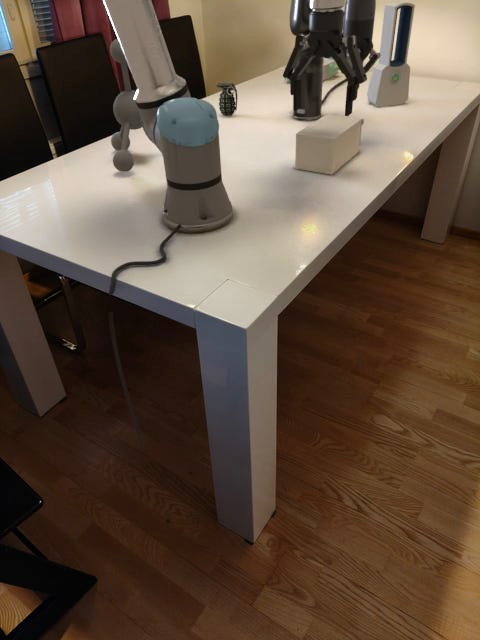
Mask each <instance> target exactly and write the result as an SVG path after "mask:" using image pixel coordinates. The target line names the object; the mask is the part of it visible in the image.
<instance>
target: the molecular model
mask: <svg viewBox="0 0 480 640" xmlns="http://www.w3.org/2000/svg"><path fill="white" fill-rule="evenodd" d="M109 52H110V55H111V57H112V59H113V60H114V61H115V62H117V63H119V64H120V67H121V72H122V80H123V84H124V85H123V86H124V89H125V90H123V91H121V92H120V93H119V94H118V95H117V96H116V97H115V99H114V100H113V101H114V102H113V104H112V105H113V106H112V107H113V108H112V110H113V114H114V117H115V119H116V121H117V122H118V124H119V125H120V131H117V132H115V133H113V134H112V136H111V139H110V144H111V146H112V148H113V149H114V150H115V151H116V152H115V153H114V154H113V157H112V164H113V166H114V168H115V170H117V171H119V172H122V173H126V172H129V171H131V170H132V169H133V168H134V165H135V159H134V156H133V154H132V153H131V152H129V151H128V149H129V148H130V146H131V139H130V131H132V130H133V131H135V130H140V129H143V127H142V122H141V115H140V113H139V110H138V108H137V105H136V103H135V100H134V96H135V94H136V91H137V90H133V89H132V86H131V81H130V75H129V69H128V68H129V67H128V63H127V60H126V58H125V55H124V53H123V50H122V48H121V45H120V42H119V40H118V38H115V39H114V40H113V41H112V42H111V44H110V47H109Z"/></svg>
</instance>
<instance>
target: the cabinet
mask: <svg viewBox="0 0 480 640" xmlns="http://www.w3.org/2000/svg"><path fill="white" fill-rule="evenodd" d="M361 120H362V118H357V117H349V116H341V115H340V116H339V115H332V114H325V115H323V116H321V117H320V118H318V119H316V120H315V121H313V122H312V123H310V124H309V125H308V126H306V127H304V128H303V129H301V130H300V131H298V132H296V133H295V157H294V158H295V162H294V163H295V164H294V169H297V170H302V171H308V172H313V173H319V174H324V175H331V176H332V175H334V174H335V173H336V172H337V171H338V170H339V169H340V168H342V167H343V166H344V165H345V164H346V163H348V162H349V161H350V160H351V159H353V157H355V156H356V155H357V154H358V153H359V149H360V146H359V140H360V141H361V139H360V130H361ZM361 131H362V130H361Z"/></svg>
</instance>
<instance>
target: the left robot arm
mask: <svg viewBox="0 0 480 640" xmlns="http://www.w3.org/2000/svg"><path fill="white" fill-rule="evenodd" d="M102 1H103V5H104V6H105V9H106V11H107V15H108V16H109V20H110V22H111V25H112V27H113V30H114V32H115V35H116V37H117V39H118V40H119V42H120V45H121V48H122V50H123V53H124V55H125V58H126V60H127V66H128V68H129V70H130V73H131V75H132V76H131V77H132V79H133V80H134V84H135V85H136V90H135V91H136V94H135V96H134V100H135V103H136V105H137V108H138V110H139V113H140V115H141V122H142V130H143V132H144V134H145V135H146V137H147V138H148V140H149V141H150V142H151V143H152V144H154V145H155V147H156V148H157V149H158V151H159V152H160V153H161V155H162V159H163V168H164V173H165V180H166V190H165V191H166V192H165V196H164V203H163V207H162V218H163V222H164V224H165V226H167V227H168V228H169V229H171V230H172V231H171V232H170V234H169V235H168V236H166V237H165V239H164V240H162V241H161V243H160V245H159V252H160V254H161V257H160V258H159V259H156V260H150V261H149V260H147V261H145V260H143V261H142V260H141V261H139V260H136V261H135V260H134V261H129V262H125V263H123V264H121V265H119V266H117V267H116V268H115V269H114V270H113V271H112V272H111V276H110V283H109V284H110V285H109V290H108V296H113V294H114V291H115V284H116V277H117V274H118V273H119V272H120V271H122V270H124V269H125V268H129V267H132V266H155V265H158V264H161V263H163V262H164V261H165V260H166V259H167V253H166V251H165V250H164V247H165V246H166V244H167V243H168V242H169V241H170V240H171V239H172V238H173V237H174V235H176V233H177V232H180V233H190V234H191V233H192V234H193V233H194V234H195V233H196V234H197V233H205V232H206V233H207V232H210V231H215V230H216V229H220V228H222V227H224V226H226V225H227V224H228V223H230V221H231V220H232V218H233V216H234V212H233V211H234V210H233V205H232V201H231V200H230V197H229V195H228V192H227V190H226V187H225V184H224V182H223V175H222V174H223V173H222V161H221V159H222V158H221V147H220V146H221V145H220V133H219V131H220V124H219V119H218V114H217V110H216V108H215V106H214V105H212V103H211V102H209V101H207V100H204V99H203V98H200V99H198V98H197V97H192V96H191V92H190V90H189V87H188V83H187V81H186V79H185V78H183V77H182V76H181V75H178V74H177V73H176V71H175V67H174V64H173V62H172V59H171V55H170V53H169V50H168V47H167V43H166V41H165V38H164V34H163V33H162V32H163V31H162V29H161V26H160V23H159V20H158V17H157V13H156V11H155V7H154V5H153V2H152V0H102ZM345 2H346V0H310V2H309V7H310V9H312V11H311V12H310V13H309V35H305V34H304V33H302V34H299V35H297V36H295V38H294V39H295V41H294V46H293V49H292V51H291V54H290V56H289V59H288V61H287V64H286V66H285V67H284V71H283V73H282V77H283V78H284V79H285V78H287V79H289V80H290V81H289V82H290V84H289V85H290V86H289V87H290V89H289V91H290V92H289V93H290V96H292V101H293V102H292V111H296V110H298V109H300V108H301V80H297V79H298V78H299V76H300V75H301V74H302V72H303V71H304V70H305V68H306V67H307V66H308V64H309V63H310V62H311V60H312V59H313V58H314V57H315V56H316V58H321V57H324V58H331V57H332V58H333V60H334V61H336V62H337V64H338V66H339V67H340V69H341V70H342V72H343V74H342V75H344V77H345V79H346V78H347V83H348V82H349V83H350V85H348V86H347V85H346V92H345V104H344V105H345V106H344V107H345V108H344V117H349V116H351V115H352V114H353V106H354V102H355V101H356V100H357V98H358V92H359V88H358V85H359V86H360V85H361V84H363V83H365V82H366V81H368V77H367V73H365V70H364V63H363V64H362V61H361V58H360V55H359V52H358V49H357V44H356V35H352V36H348V37H343V23H344V9H342V8H344V7H345ZM306 43H308V45H309V46H310V50H309V51H308V52H307V54H306V55H305V57H304V59H303V60H302V61H301V63H300V64H299V65H298V67H297V68H296V69H295V71H294V72H293V70H294V68H295V66H296V63H297V61H298V59H299V56H300V54H301V52H302V49H303V46H304V45H305V44H306ZM343 43H344V44H345V47H347V49H348V53H349V56H350V59H351V62H352V65H353V68H354V71H355V72H354V71H353V69H352V68H351V66H350V64H349V63H348V61H347V60H346V58H345V56H344V53H343V51H342V50H341V48H340V47H341V46H342V44H343ZM107 313H108V322H109V330H110V335H111V343H112V349H113V353H114V359H115V363H116V367H117V371H118V374H119V378H120V382H121V386H122V389H123V393H124V396H125V399H126V402H127V405H128V410H129V412H130V415H131V420H132V422H133V426H134V429H135V433H136V436H137V441H138V444H139V447H140V448H143V447H144V443H143V439H142V435H141V431H140V428H139V424H138V421H137V417H136V414H135V409H134V406H133V404H132V399H131V396H130V393H129V390H128V386H127V383H126V379H125V375H124V372H123V368H122V367H123V366H122V363H121V359H120V358H121V357H120V354H119V349H118V345H117V344H118V343H117V338H116V330H115V325H114V324H115V323H114V312H112V311H108V312H107Z"/></svg>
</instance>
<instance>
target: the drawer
mask: <svg viewBox="0 0 480 640" xmlns="http://www.w3.org/2000/svg"><path fill="white" fill-rule="evenodd" d="M361 119H362V118H361ZM364 121H365V119H362V120H361V130H360V140H359V147H360V146H361V139H362V137H361V136H362V128H363V125H364V123H365V122H364Z"/></svg>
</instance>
